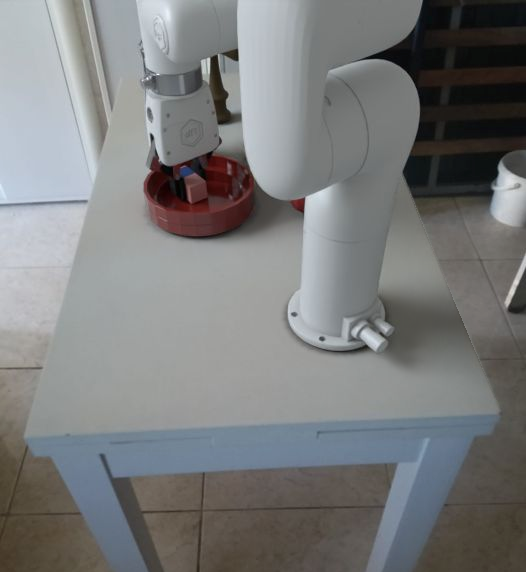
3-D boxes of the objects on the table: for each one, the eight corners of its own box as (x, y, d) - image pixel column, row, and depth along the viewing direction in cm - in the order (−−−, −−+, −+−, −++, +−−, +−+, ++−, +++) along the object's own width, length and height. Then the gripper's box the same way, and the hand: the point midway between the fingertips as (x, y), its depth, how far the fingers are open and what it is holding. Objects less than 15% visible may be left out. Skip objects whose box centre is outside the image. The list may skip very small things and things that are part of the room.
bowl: (276, 211, 91) (276, 186, 87) (184, 253, 84) (181, 228, 81) (215, 166, 100) (213, 142, 97) (128, 201, 93) (123, 177, 90)
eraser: (207, 197, 92) (206, 180, 90) (191, 204, 91) (189, 187, 89) (187, 181, 95) (185, 165, 93) (172, 187, 94) (169, 171, 92)
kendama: (194, 112, 114) (182, 0, 99) (242, 110, 114) (237, -2, 99) (193, 127, 110) (180, 12, 95) (243, 125, 110) (238, 10, 95)
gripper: (136, 104, 74) (158, 222, 88) (238, 70, 81) (243, 185, 94) (110, 84, 78) (134, 200, 92) (209, 54, 85) (218, 166, 98)
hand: (189, 191), depth 93 cm, fingers closed on eraser, 3 cm apart
